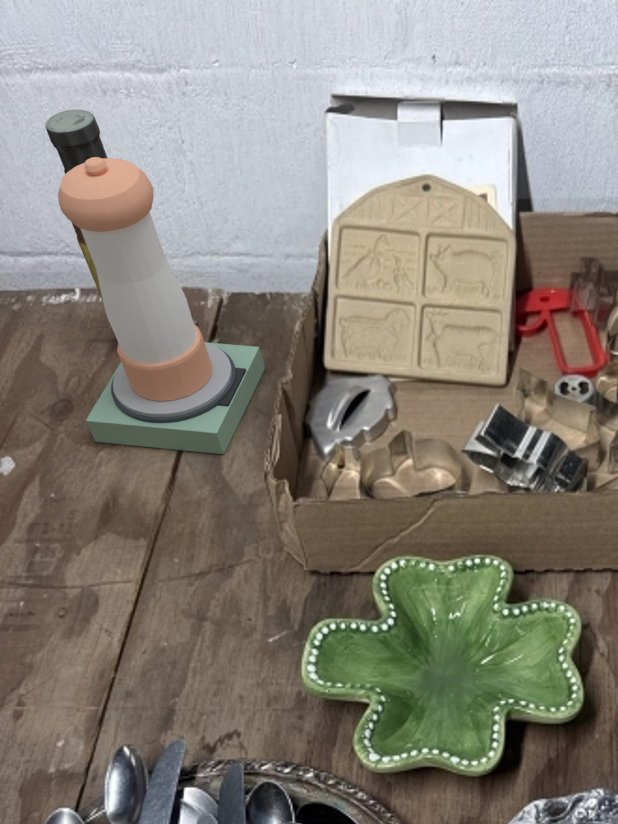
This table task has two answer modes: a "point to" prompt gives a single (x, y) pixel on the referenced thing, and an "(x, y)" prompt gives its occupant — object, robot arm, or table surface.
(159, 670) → the table surface
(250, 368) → the scale
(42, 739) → the table surface
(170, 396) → the pepper shaker
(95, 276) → the sauce bottle
